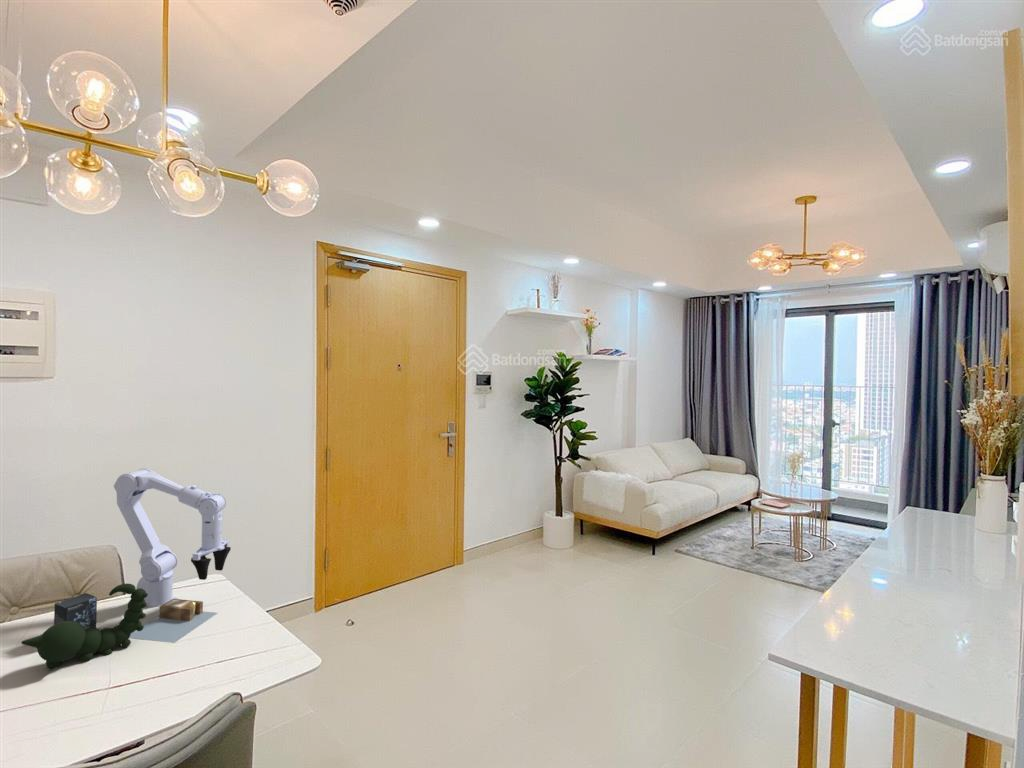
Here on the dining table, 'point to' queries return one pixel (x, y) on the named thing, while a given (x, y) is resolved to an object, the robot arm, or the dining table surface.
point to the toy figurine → (90, 633)
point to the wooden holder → (179, 609)
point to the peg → (192, 604)
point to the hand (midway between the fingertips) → (211, 574)
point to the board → (170, 628)
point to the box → (77, 610)
